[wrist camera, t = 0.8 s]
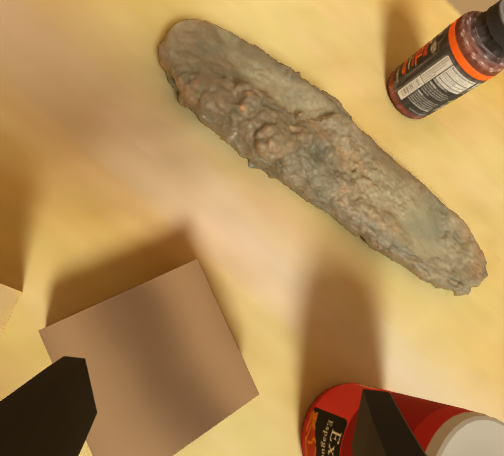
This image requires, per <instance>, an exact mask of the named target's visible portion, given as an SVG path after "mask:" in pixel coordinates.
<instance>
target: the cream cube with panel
mask: <svg viewBox="0 0 504 456" xmlns="http://www.w3.org/2000/svg"><path fill="white" fill-rule="evenodd" d="M21 294H22V292H21V291H18V290H16V289H13V288H11V287H8V286H6V285H3V284H1V283H0V335H1V333H2V331H3V329H4V327H5V325H6V323H7V321H8V320H9V318H10V316H11V314H12V312H13V310H14V308H15V306H16V304H17V302H18V300H19V298H20V296H21Z"/></svg>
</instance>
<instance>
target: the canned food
mask: <svg viewBox="0 0 504 456" xmlns="http://www.w3.org/2000/svg"><path fill="white" fill-rule="evenodd" d="M363 389H368V390H377V391H386V392H389V393H390V394H391V395H392V397H393V398H394V400H395V402H396V404H397V406H398V408H399V409H400V411H401V413H402V415H403V416H404V418H405V420H406V422H407V423H408V425H409V427H410V429H411V430H412V432H413V434H414V435H415V437H416V439H417V440H418V442H419V444H420V445H421V447H422V449H423V450H424V452H425V453H426V455H427V456H504V423H503V422H501V421H499V420H497V419H496V418H493V417H489V416H487V415H485V414H481V413H477V412H473V411H469V410H466V409H463V408H459V407H454V406H450V405H446V404H442V403H437V402H433V401H429V400H425V399H421V398H416V397H412V396H408V395H404V394H400V393H395V392H391V391H387V390H383V389H379V388H374V387H370V386H366V385H362V384H357V383H345V384H341V385H337V386H334V387H331V388H329V389H328V390H326V391H324V392H323V393H322V394H321V395H320V396H318V398H317V399H316V400H315V401H314V403H313V404H312V406H311V407H310V409H309V411H308V413H307V415H306V418H305V421H304V425H303V430H302V451H303V456H353V455H352V441H353V436H354V431H355V426H356V421H357V415H358V410H359V405H360V400H361V395H362V390H363Z"/></svg>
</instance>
